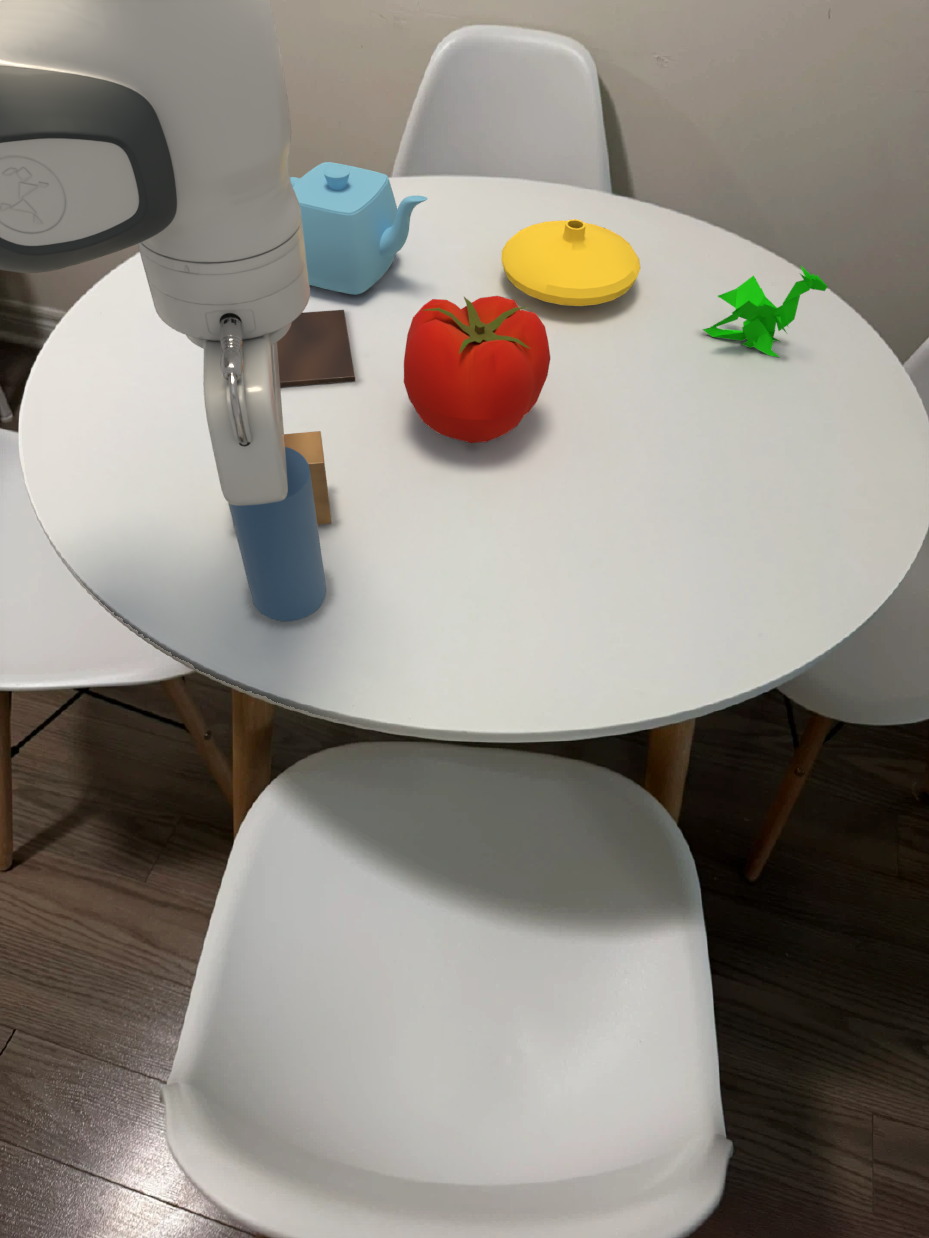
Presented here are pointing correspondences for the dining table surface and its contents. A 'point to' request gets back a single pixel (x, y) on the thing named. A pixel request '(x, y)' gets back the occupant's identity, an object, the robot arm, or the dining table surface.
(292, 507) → the bottle
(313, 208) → the teapot
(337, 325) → the coaster
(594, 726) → the dining table surface
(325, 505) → the prop block
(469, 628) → the dining table surface
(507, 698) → the dining table surface
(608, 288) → the vase
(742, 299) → the figurine
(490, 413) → the tomato
